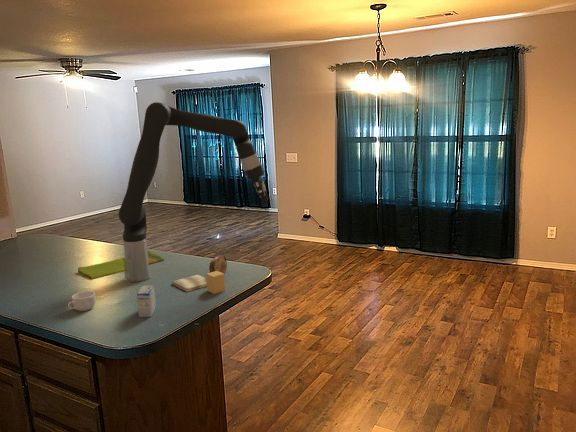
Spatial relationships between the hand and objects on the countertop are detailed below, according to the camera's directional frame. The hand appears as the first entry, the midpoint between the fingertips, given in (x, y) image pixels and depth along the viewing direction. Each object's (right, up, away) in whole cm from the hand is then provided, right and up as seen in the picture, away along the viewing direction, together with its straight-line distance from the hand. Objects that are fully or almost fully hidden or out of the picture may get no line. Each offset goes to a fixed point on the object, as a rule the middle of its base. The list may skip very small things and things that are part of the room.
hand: (266, 202), depth 194 cm
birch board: (-30, -34, -6) cm, 46 cm away
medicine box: (-40, -40, -33) cm, 66 cm away
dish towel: (-68, -30, +20) cm, 77 cm away
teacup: (-65, -40, -30) cm, 81 cm away
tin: (-21, -32, +3) cm, 38 cm away
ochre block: (-19, -35, -14) cm, 42 cm away
